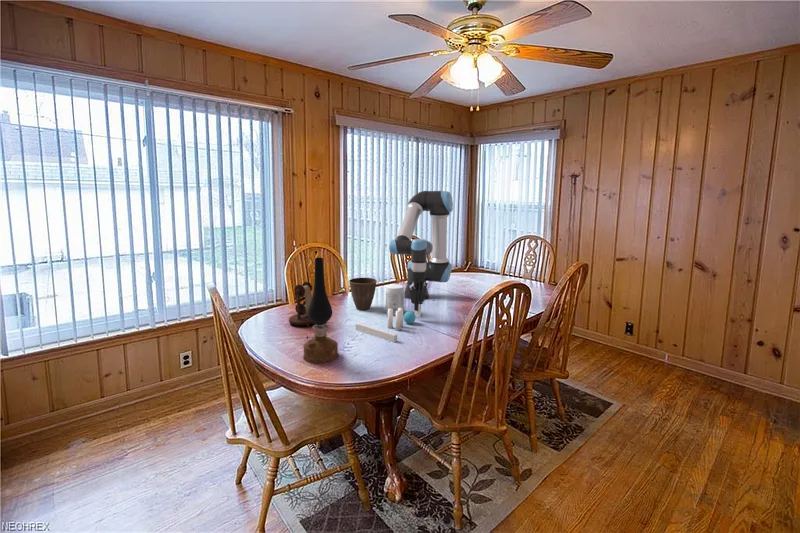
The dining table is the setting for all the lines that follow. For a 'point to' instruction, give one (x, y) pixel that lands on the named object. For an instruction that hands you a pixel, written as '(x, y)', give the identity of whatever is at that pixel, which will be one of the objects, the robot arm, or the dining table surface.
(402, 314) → the front pin
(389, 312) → the pin
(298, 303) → the dark brown upright piece
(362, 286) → the plant pot
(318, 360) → the oil lamp
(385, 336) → the back wall
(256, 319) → the dining table surface
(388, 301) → the supplement tub
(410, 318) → the ball
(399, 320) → the pin
